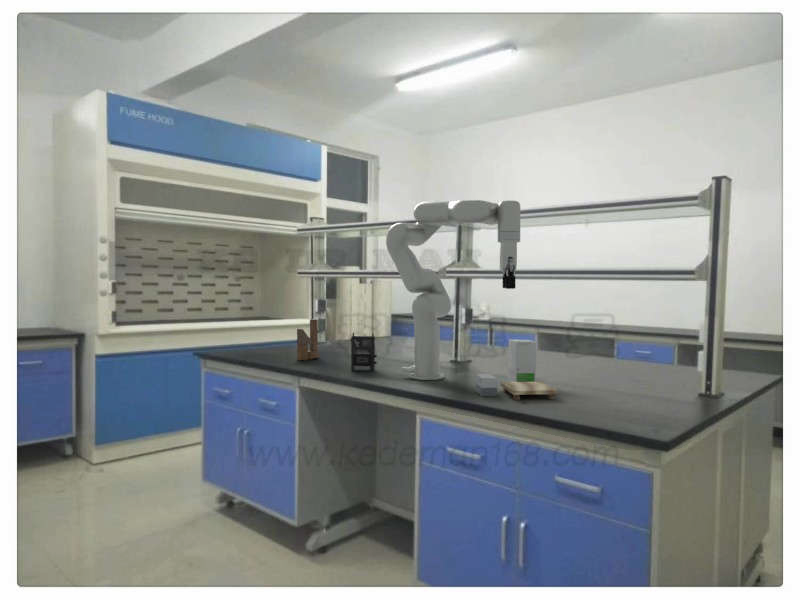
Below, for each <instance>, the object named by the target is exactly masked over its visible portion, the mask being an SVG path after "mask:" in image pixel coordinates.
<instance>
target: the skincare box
mask: <svg viewBox="0 0 800 600" xmlns="http://www.w3.org/2000/svg"><path fill="white" fill-rule="evenodd" d="M507 354H508V355H507V358H508V359H507V382H536V379H537V378H536V377H537V375H536V371H537V370H536V369H537V341H536V340H532V339H509V340H508V353H507Z"/></svg>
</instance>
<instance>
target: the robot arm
mask: <svg viewBox="0 0 800 600" xmlns="http://www.w3.org/2000/svg"><path fill="white" fill-rule="evenodd" d="M413 216H414V217H413V218H414V220H415V221H416V223H411V222H397V223H395V224H393V225H391V227H390V228H389V229H388V231H387V233H386V239H385V245H386V249H387V252H388V254H389V255H390V258H391V260H392V261H393V263H394V265H395V267H396V270H397V272H398V275H399V277H400V278H401V281H402V283H403V285H404V287H405V288H406V291H408V292H409V293H411V294H419V295H417V296H415V298H414V300H413V302H412V303H411V304H412V305H411V309H412V311H411V312H412V316H413V326H414V327H413V328H414V329H413V331H414V332H413V333H414V334H413V335H414V338H413V339H414V346H413V347H414V354H413V355H414V359H413V360H414V361H413V362H414V363H413V364H412V365H410V366H408V367H407V366H401V373H410V375H409V377H410V378H411V379H413V380H419V381H437V380H438V381H439V380H442V379H444V373H441V372H440V366H441V365H440V364H441V363H440V360H441V359H440V357H441V356H440V354H441V353H440V352H441V350H440V347H441V336H440V335H441V332H440V331H441V330H440V328H441V327H440V323H439V321H438V318H443V317H445V316H447V315H448V314H449V313H450V312H451V310H452V309H451V308H452V301H451V298H450V296H449V294H448V292H447V290H446V288H445V286H444V284H443V282H442V279H441V278H440V276H439V275H438V274H437V272H436V271H434V270H432V269H430V268H424V267H422V266H421V265H420V263H419V260H418V259H417V256H416V255H415V253H414V252H413V251H412V250H411V248H410V246H411V247H419V246H422V245H424V244H425V243H426V242H427V241H428V240H430V239H431V238H432V237H433V235H435V233H436V232H438V231H439V230H440V228H441V227H442V226H455V225H457V223H458V224H459V223H478V224H484V225H491V226H494V225H497V243H500V248H499V271H500V272H503V273H502V288H503V289H507V290H508V289H509V290H511V289H512V290H513V289H514V290H515V289H516V271H517V265H518V264H517V263H518V262H517V261H518V243H521V204H520V201H517V200H502V201H500V202H499V203H495V202H490V201H487V200H480V199H479V200H478V199H477V200H476V199H474V200H471V199H470V200H453V201H424V202H419V203H418V204H416V206H415V207H414V209H413Z"/></svg>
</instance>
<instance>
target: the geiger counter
mask: <svg viewBox="0 0 800 600" xmlns="http://www.w3.org/2000/svg"><path fill="white" fill-rule="evenodd" d="M374 335H375V334H374V332H372V335H371V336H370V335H369V336H368V335H367V336H366V335H365V336H364V335H362V336H361V335H355V332H352V336H351V338H350V344H351V345H350V347H351V349H350V351H351V354H350V355H351V357H350V360H351V361H350V363H351V366H350V371H351V370H352V372H374V371H375V370H376V367H375V366H376V365H377V361H376V358H377V354H376V348H375V347H376V345H375V344H376V337H375V336H374Z"/></svg>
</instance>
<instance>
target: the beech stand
mask: <svg viewBox="0 0 800 600" xmlns="http://www.w3.org/2000/svg"><path fill="white" fill-rule="evenodd" d="M500 386H501V387H502V391H503V392H504V393H510V394H512V395H513V397H512V399H513V400H514V401H520V399H521V395H522V396H523V395H546V396H547V397H546V399H548V400H555V395H558V389H556V388H554V387H552V386H551V385H548V384H547V383H545V382H543V381H535V382H508V381H501V382H500Z"/></svg>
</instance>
